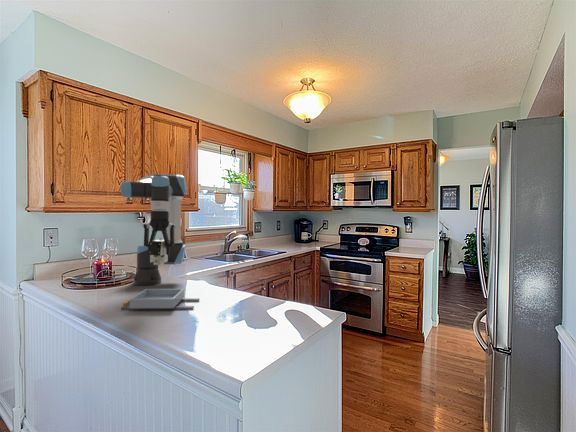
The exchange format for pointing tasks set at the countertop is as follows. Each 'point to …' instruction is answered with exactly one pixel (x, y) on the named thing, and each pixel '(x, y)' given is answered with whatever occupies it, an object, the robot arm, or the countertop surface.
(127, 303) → the rails
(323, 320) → the countertop surface
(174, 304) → the shallow square tray
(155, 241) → the pneumatic valve
